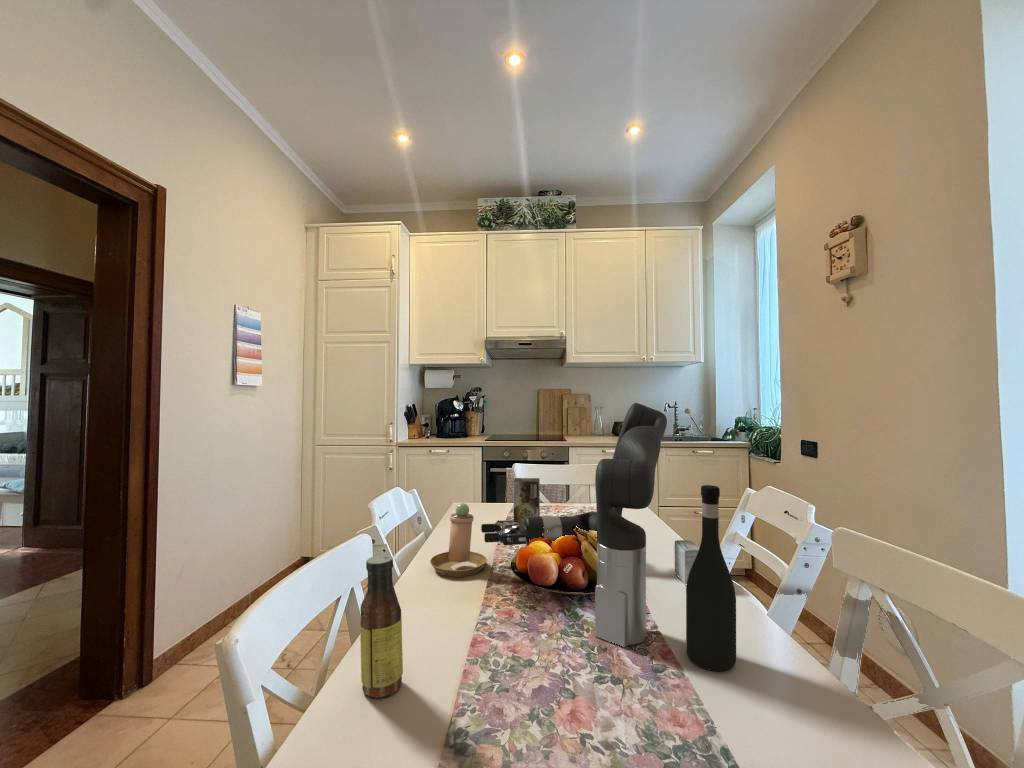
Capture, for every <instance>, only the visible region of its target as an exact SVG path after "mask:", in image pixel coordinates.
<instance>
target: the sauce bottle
mask: <svg viewBox="0 0 1024 768" xmlns="http://www.w3.org/2000/svg"><path fill="white" fill-rule="evenodd" d="M365 564H366V565H365V568H366V571H367V585H366V586H367V591H366V594H365V596H364V597H363V600H362V602H361V604H360V623H359V626H360V629H359V630H360V631H359V632H360V633H359V634H360V670H361V673H360V677H361V679H360V680H361V684H362V685H361V686H362V692H363V694H364V695H366V696H368V697H370V698H374V699H380V698H381V699H382V698H386V697H389V696H391V695H393V694H396V692H398V690H399V689H400V688H401V686H402V684H403V681H402V680H403V674H404V673H403V672H404V670H403V669H404V666H403V665H404V663H403V662H404V661H403V660H404V658H403V630H402V629H403V627H402V626H403V624H402V623H403V622H402V621H403V620H402V618H403V617H402V608H401V606H400V603H399V599H398V597H397V593H396V590H395V586H394V581H393V567H394V559H393V557H392V556H391V555H388V554H387V555H386V554H383V555H382V554H380V555H379V554H378V555H375V556H371V557H369V558H367V560H366V561H365Z"/></svg>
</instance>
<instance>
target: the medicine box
mask: <svg viewBox="0 0 1024 768" xmlns="http://www.w3.org/2000/svg"><path fill="white" fill-rule="evenodd" d="M699 548H700V546H698V545H697V544H696V543H695V542H694V541H692V540H689V539H687V540H685V539H680V540H679V539H678V540H674V573H676V574H677V575H678V576H679V577H680V578H681V579H680V578H679V577H678V576H677V575H676V574H675V575H676V576H677V577H678V578H679V579H680V581H681V580H682V581H683V582H684V583H685V584H687V580H688V576H689V572H690V570H691V567H692V565H693V563H694V561H695V558H696V556H697V553H698V551H699ZM682 581H681V582H682ZM683 582H682V583H683ZM684 583H683V584H684ZM685 584H684V585H685Z"/></svg>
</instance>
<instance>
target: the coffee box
mask: <svg viewBox="0 0 1024 768" xmlns="http://www.w3.org/2000/svg"><path fill="white" fill-rule="evenodd" d="M540 479H541V478H539V477H538V478H537V477H514V480H513V483H512V486H513V487H512V488H513V491H512V492H513V495H512V496H513V520H517V521H518V524H523V523H524V519H525V517H534V516H541V514H540V513H541V506H540V503H541V501H540V500H541V499H540V498H541V497H540V495H541V494H540V493H541V492H540V490H541V489H540V482H541V481H540Z"/></svg>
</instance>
